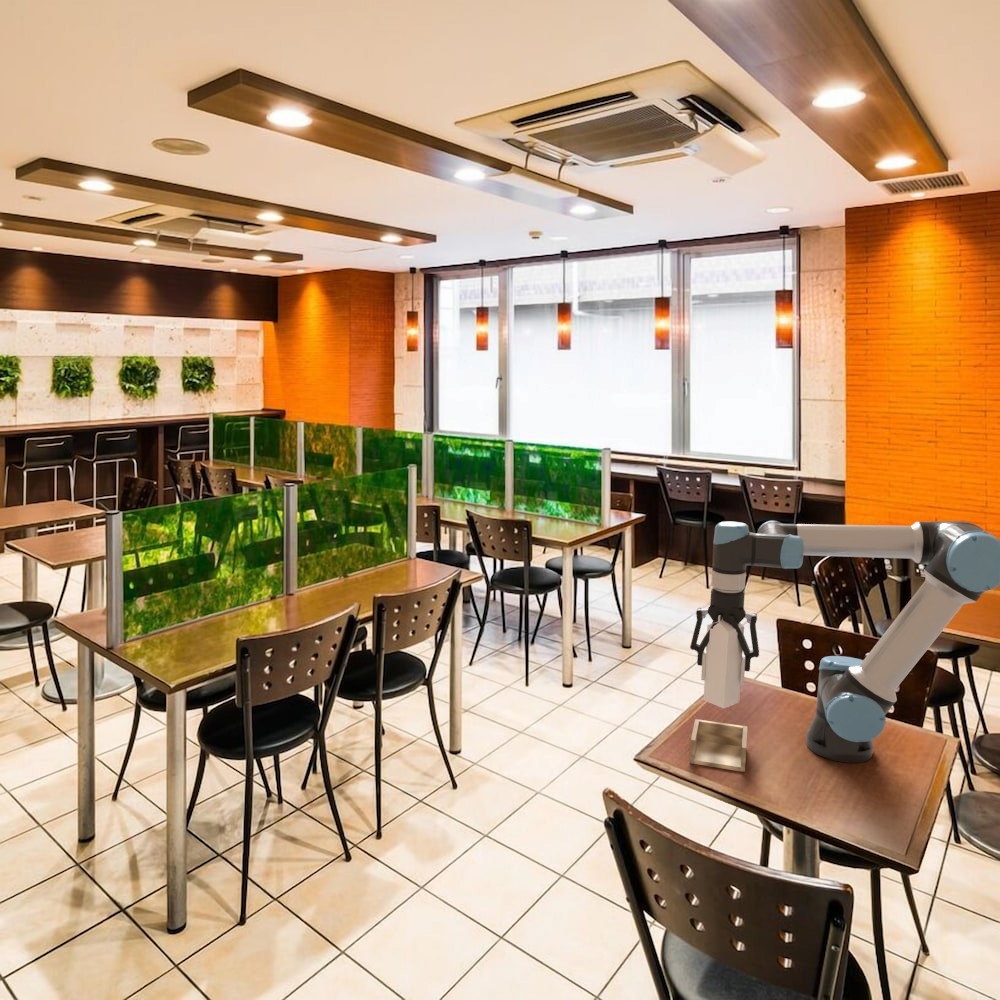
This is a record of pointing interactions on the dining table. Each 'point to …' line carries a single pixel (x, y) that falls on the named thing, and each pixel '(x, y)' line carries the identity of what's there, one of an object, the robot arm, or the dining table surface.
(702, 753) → the u rest
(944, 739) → the dining table surface
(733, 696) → the milk
